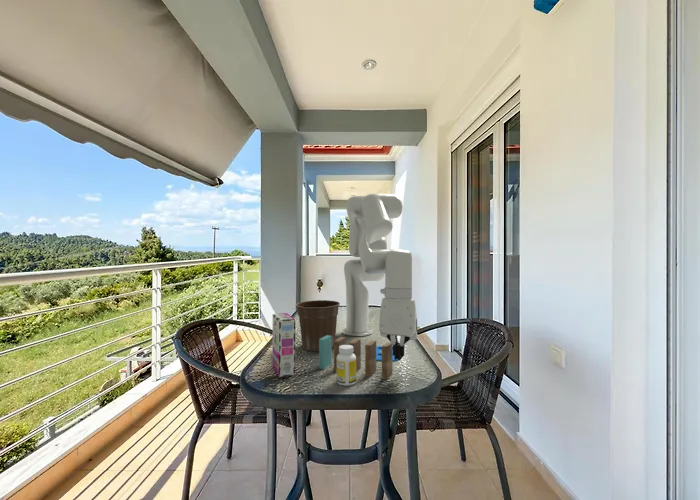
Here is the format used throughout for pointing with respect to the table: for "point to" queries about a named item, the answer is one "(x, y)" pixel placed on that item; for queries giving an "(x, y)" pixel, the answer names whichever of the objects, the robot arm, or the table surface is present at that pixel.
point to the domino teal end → (325, 352)
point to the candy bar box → (283, 344)
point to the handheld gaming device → (379, 354)
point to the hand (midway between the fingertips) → (398, 358)
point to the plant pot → (317, 322)
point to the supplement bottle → (346, 366)
